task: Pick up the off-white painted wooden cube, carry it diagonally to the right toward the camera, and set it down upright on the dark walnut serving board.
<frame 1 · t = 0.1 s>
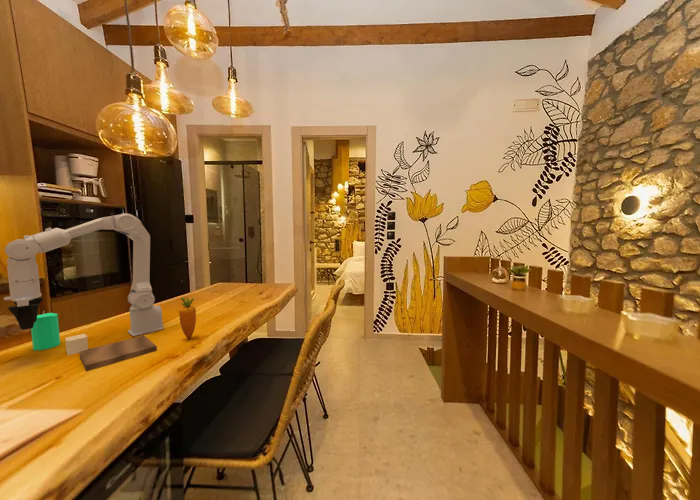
hand: (29, 325, 80), 10 cm above the table, tool pointing down, fingers open, 7 cm apart
cube: (77, 351, 85), on the table
walnut board: (119, 353, 83), on the table
carrot: (189, 339, 94), on the table
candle: (47, 347, 89), on the table
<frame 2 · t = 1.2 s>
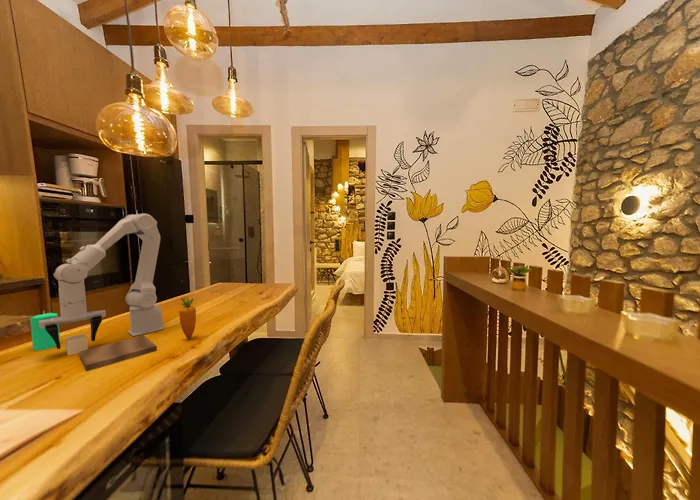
hand: (76, 344, 85), 2 cm above the table, tool pointing down, fingers open, 7 cm apart
nothing on the table moved.
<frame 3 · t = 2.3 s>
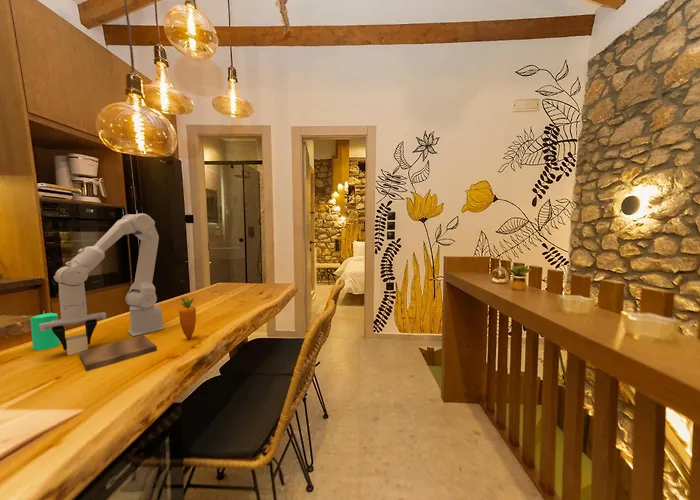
hand: (77, 346, 85), 1 cm above the table, tool pointing down, fingers closed on cube, 4 cm apart
cube: (77, 350, 85), on the table, touching gripper
everything else where it was.
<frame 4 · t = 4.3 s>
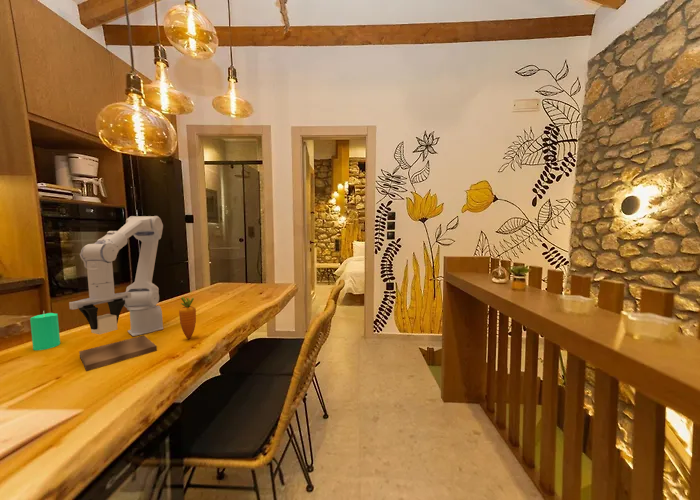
hand: (104, 326, 83), 8 cm above the table, tool pointing down, fingers closed on cube, 4 cm apart
cube: (104, 330, 83), point 7 cm above the table, touching gripper
everything else where it was.
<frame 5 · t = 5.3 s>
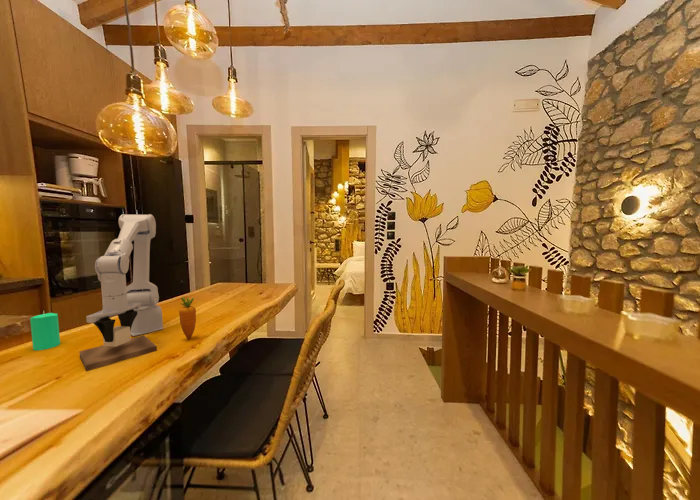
hand: (117, 338, 83), 5 cm above the table, tool pointing down, fingers closed on cube, 4 cm apart
cube: (117, 343, 83), point 3 cm above the table, touching gripper
everything else where it was.
when the fingers open (4 cm above the table, at t = 6.3 s): cube stays where it is, resting on walnut board.
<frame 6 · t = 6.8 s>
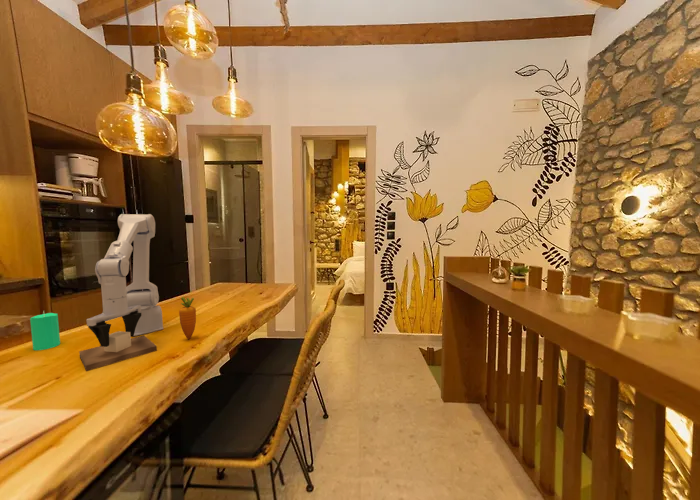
hand: (118, 340, 83), 4 cm above the table, tool pointing down, fingers open, 7 cm apart
cube: (118, 348, 83), point 1 cm above the table, touching walnut board
everything else where it was.
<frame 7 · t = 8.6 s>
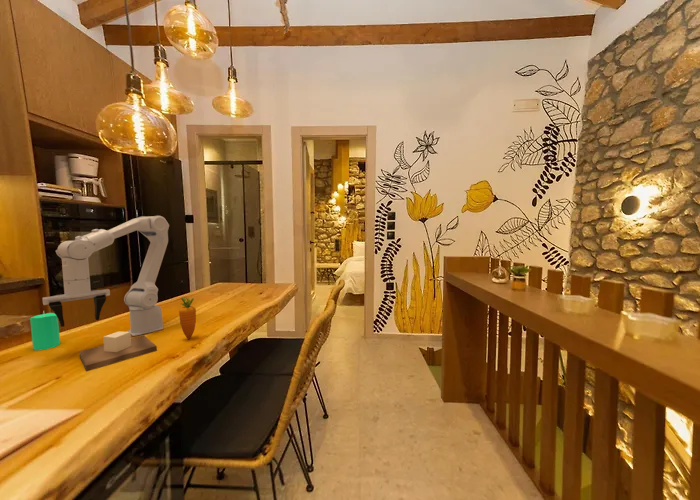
hand: (80, 322, 84), 9 cm above the table, tool pointing down, fingers open, 7 cm apart
nothing on the table moved.
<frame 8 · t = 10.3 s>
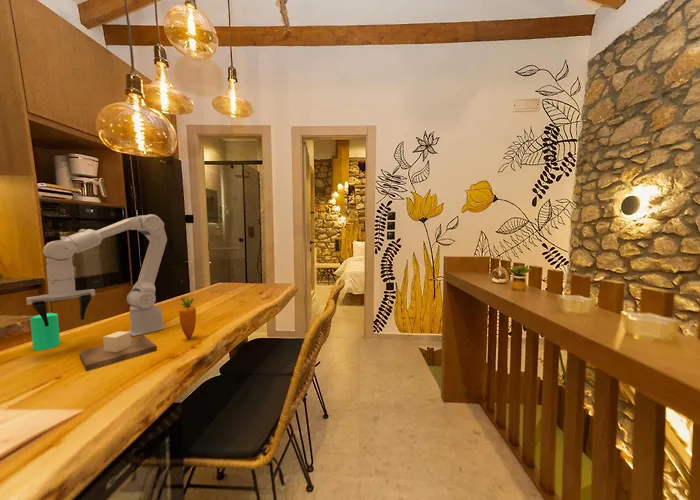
hand: (65, 322, 85), 9 cm above the table, tool pointing down, fingers open, 7 cm apart
nothing on the table moved.
at the end: cube inside the target area on the walnut board (0.2 cm from its centre), point 1.5 cm above the walnut board's base; cube tilted 0°; the gripper is holding nothing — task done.
